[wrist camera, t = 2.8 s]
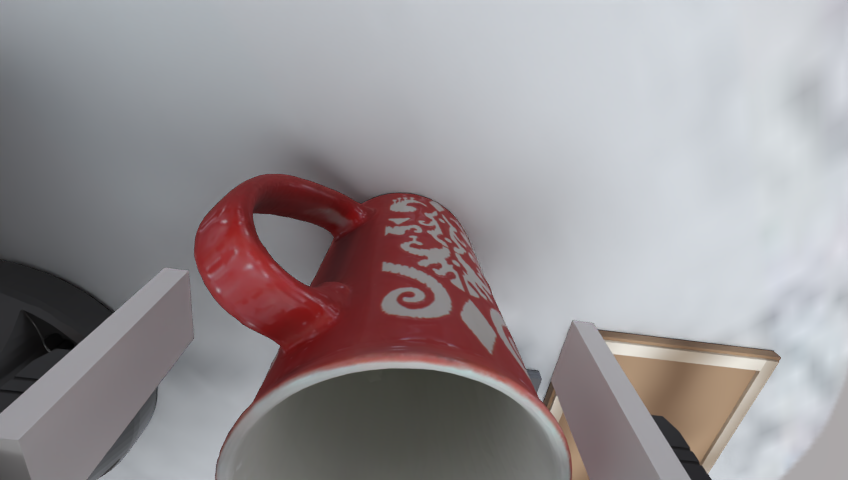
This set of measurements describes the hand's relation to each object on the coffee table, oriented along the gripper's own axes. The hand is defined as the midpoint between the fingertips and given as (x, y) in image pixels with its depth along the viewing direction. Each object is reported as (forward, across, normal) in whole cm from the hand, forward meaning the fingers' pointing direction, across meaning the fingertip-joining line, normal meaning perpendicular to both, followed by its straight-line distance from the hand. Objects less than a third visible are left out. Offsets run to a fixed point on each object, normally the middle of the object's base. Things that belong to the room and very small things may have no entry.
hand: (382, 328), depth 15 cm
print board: (+8, +18, -13) cm, 23 cm away
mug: (+8, 0, 0) cm, 9 cm away
